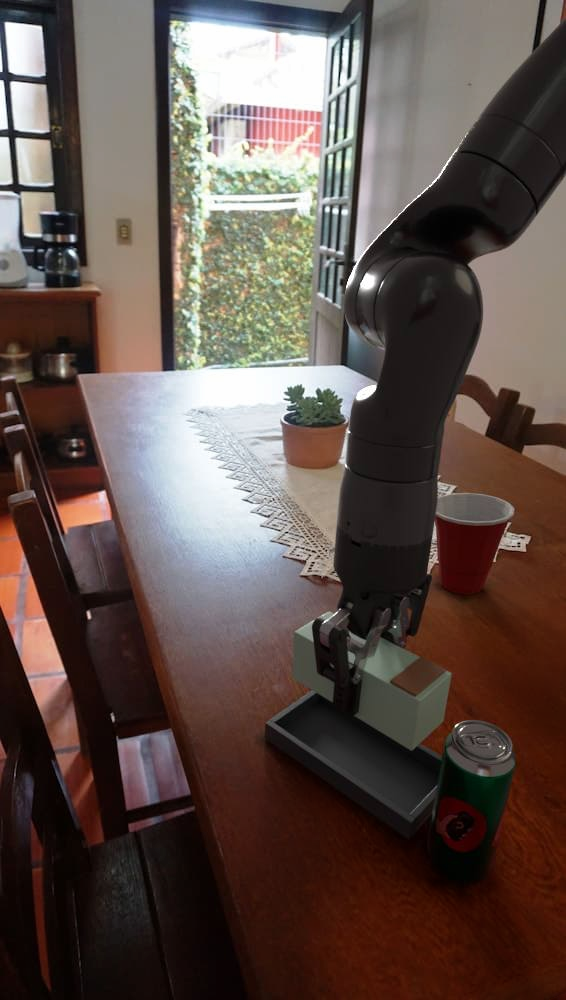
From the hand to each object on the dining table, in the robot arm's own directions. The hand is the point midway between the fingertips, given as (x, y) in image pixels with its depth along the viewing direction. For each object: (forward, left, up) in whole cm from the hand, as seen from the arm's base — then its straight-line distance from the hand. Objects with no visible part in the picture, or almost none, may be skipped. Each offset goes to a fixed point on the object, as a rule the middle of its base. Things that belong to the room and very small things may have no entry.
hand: (365, 695), depth 60 cm
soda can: (+3, +12, -8) cm, 14 cm away
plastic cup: (-37, -10, -8) cm, 39 cm away
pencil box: (0, 0, 0) cm, 0 cm away
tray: (0, 0, -7) cm, 7 cm away
